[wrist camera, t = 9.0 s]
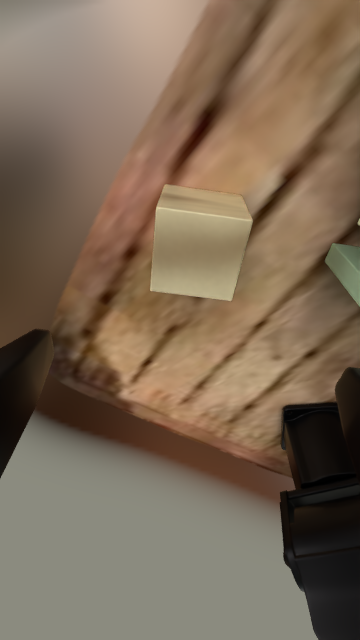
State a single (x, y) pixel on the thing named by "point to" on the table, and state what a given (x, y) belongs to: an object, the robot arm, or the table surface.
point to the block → (199, 242)
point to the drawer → (346, 267)
